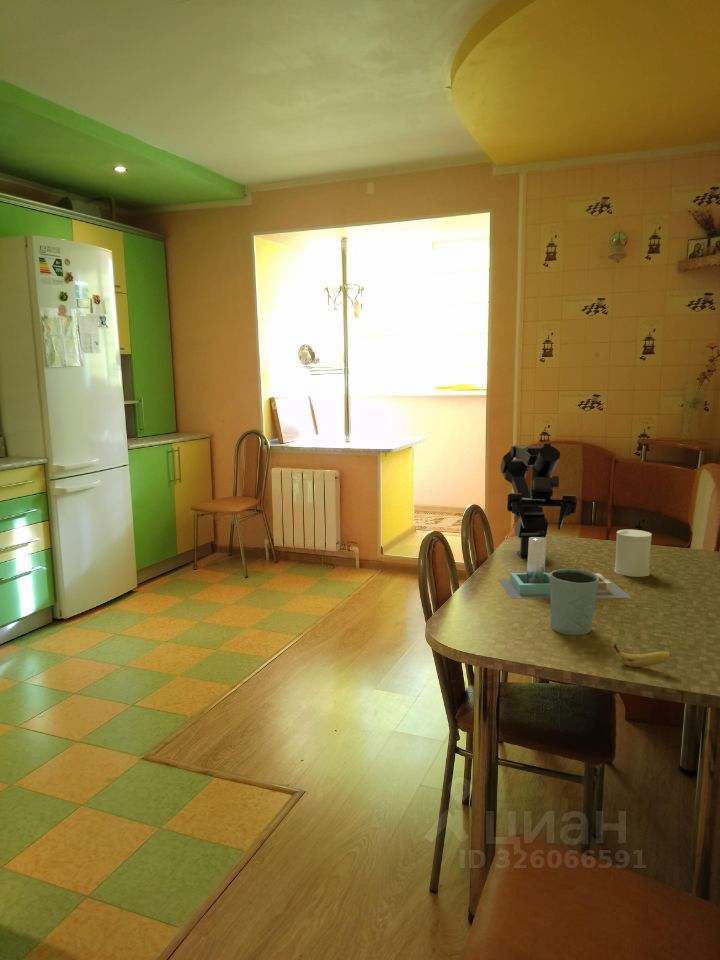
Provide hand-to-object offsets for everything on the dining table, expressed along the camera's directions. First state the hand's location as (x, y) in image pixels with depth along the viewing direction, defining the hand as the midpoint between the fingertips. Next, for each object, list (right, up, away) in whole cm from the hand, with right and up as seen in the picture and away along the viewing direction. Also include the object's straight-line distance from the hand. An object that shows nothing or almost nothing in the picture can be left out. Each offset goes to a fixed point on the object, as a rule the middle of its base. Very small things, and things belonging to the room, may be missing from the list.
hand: (541, 528), depth 182 cm
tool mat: (+3, -15, -9) cm, 18 cm away
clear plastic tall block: (-4, -15, -9) cm, 18 cm away
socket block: (+10, -15, -9) cm, 20 cm away
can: (+27, -13, +5) cm, 30 cm away
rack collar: (-4, -15, -9) cm, 18 cm away
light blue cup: (-3, -19, -36) cm, 41 cm away
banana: (+3, -22, -56) cm, 61 cm away
